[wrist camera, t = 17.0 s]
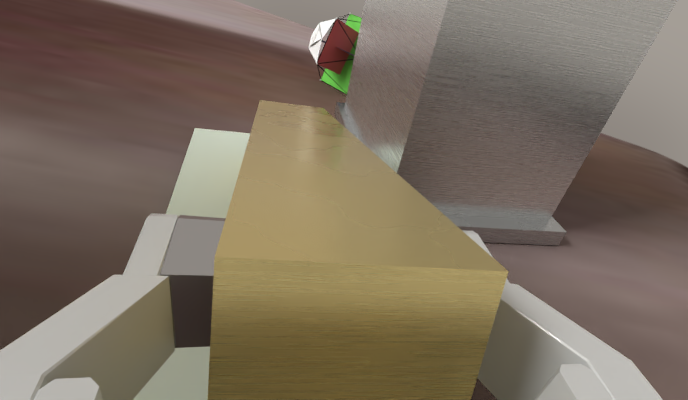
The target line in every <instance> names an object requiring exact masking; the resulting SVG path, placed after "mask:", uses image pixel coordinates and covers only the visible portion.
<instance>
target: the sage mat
mask: <svg viewBox="0 0 688 400" xmlns="http://www.w3.org/2000/svg"><path fill="white" fill-rule="evenodd" d="M249 137H250V134H249V133H239V132H229V131H219V130H209V129H199V128H195V130H194V133H193V136H192V139H191V142H190V144H189V147H188V150H187V153H186V156H185V159H184V162H183V165H182V168H181V171H180V174H179V177H178V180H177V183H176V186H175V189H174V191H173V194H172V197H171V200H170V203H169V206H168V209H167V212H166V214H171V215H179V216H180V215H188V216H201V217H215V218H226V216H227V212H228V209H229V205H230V202H231V199H232V195H233V192H234V188H235V185H236V181H237V178H238V174H239V171H240V168H241V164H242V161H243V157H244V154H245V150H246V147H247V143H248V140H249ZM209 359H210V347H187V348H175V351H174V352H173V354H172V355H171V356H170V357H169V358H168V359H167V361H166V362H165V363H164V364H163V365H162V366H161V368H160V369H159V370H158V371H157V372H156V373H155V375H154V376H153V377H152V378H151V379H150V380H149V381H148V383H147V384H146V385H145V386H144V387H143V388H142V390H141V391H140V392H139V393H138V394H137V395H136V397H135V398H134V399H133V400H207V399H208V379H209Z"/></svg>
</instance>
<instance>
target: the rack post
mask: <svg viewBox="0 0 688 400" xmlns="http://www.w3.org/2000/svg"><path fill="white" fill-rule="evenodd" d="M677 1H678V0H365V4H364V9H363V14H362V19H361V25H360V30H359V35H358V40H357V45H356V50H355V55H354V61H353V66H352V71H351V76H350V81H349V86H348V92H347V97H346V102H345V103H340V102H337V103H336V108H335V116H336V119H337V121H338V122H339V123H340V124H342V125H343V126H344V127H345V128H346V129H347V130H348V131H350V132H351V133H352V134H353V135H354V136H355V137H356V138H358V139H359V140H360V141H361V142H362V143H363V144H364V145H365V146H367V147H368V148H369V149H370V150H371V151H372V152H373V153H375V154H376V155H377V156H378V157H379V158H380V159H381V160H383V161H384V162H385V163H386V164H387V165H388V166H389V167H390V168H392V169H393V170H394V171H395V172H396V173H397V174H398V175H400V176H401V177H402V178H403V179H404V180H405V181H406V182H407V183H409V184H410V185H411V186H412V187H413V188H414V189H415V190H417V191H418V192H419V193H420V194H421V195H422V196H423V197H425V198H426V199H427V200H428V201H429V202H430V203H431V204H432V205H434V206H435V207H436V208H437V209H438V210H439V211H440V212H442V213H443V214H444V215H445V216H446V217H447V218H448V219H450V220H451V221H452V222H453V223H454V224H455V225H456V226H457V227H459V228H460V229H461V230H467V231H474V232H475V233H477V234H478V235H479V237H480V238H481V240H482V241H483V242H489V243H511V244H534V245H556V246H558V245H559V244H560V242H561V240H562V239H563V237H564V236H565V234H566V233H567V232H566V231H565V230H564V229H563V228H562V227H561V226H560V224H559V223H558V222H557V221H556V220H555V219H554V218H553V217H552V215H553V213H554V212H555V210H556V208H557V206H558V205H559V203H560V201H561V200H562V198H563V196H564V194H565V193H566V191H567V189H568V188H569V186H570V184H571V182H572V181H573V179H574V177H575V176H576V174H577V172H578V170H579V169H580V167H581V165H582V164H583V162H584V160H585V158H586V157H587V155H588V153H589V152H590V150H591V148H592V146H593V145H594V143H595V141H596V140H597V138H598V136H599V134H600V133H601V131H602V129H603V127H604V126H605V124H606V122H607V121H608V119H609V117H610V116H611V114H612V112H613V110H614V109H615V107H616V105H617V103H618V102H619V100H620V98H621V97H622V95H623V93H624V91H625V90H626V88H627V86H628V85H629V83H630V81H631V79H632V78H633V76H634V74H635V73H636V71H637V69H638V68H639V66H640V64H641V62H642V61H643V59H644V57H645V55H646V54H647V52H648V50H649V49H650V47H651V45H652V44H653V42H654V40H655V38H656V37H657V35H658V33H659V31H660V30H661V28H662V26H663V25H664V23H665V21H666V20H667V18H668V16H669V14H670V13H671V11H672V9H673V8H674V6H675V4H676V2H677Z"/></svg>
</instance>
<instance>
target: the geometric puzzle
mask: <svg viewBox="0 0 688 400" xmlns="http://www.w3.org/2000/svg"><path fill="white" fill-rule="evenodd" d="M361 19H362V18H360V17H358V16H355V15H352V14H351V13H350V15H349V17H348V19H347V22H346V24H345V23H343V22H342V21H340V20H341V19H340V20H339V18H335V19H331V20H327V21H323V22H319V24H318V25H317V27H316V29H315V30H314V32H313V33H312V36H311V40H310V44H309V48H308V49H309V51H310V52H311V54H312V56H313V58H314V60H315V61H316V64H317V67H318V66H319V65H321V66H323V67H325V68H326V69H325V71H324V70H323V69H322V68H321V67H320V66H319V67H320V68H321V69H322V70H323V71H324V73H323V76H322V78H320V80H322V81H324V82H325V83H327V84H329V85H331V86H333V87H334V88H336V89H338V90H340V91H342V92H344V93H345V94H347V92H348V86H349V81H350V76H351V71H352V66H353V61H354V55H355V50H356V45H357V40H358V35H359V30H360V25H361ZM343 20H344V19H343ZM334 21H335V22H334ZM332 24H333V27H332V29H331V32H330V34H329V36H328V38H327V41H326V42H325V41H323V40H322V38H323V37H324V35H325V34H326V33H327V31H328V30H329V28H330V27H331V25H332ZM321 42H324V43H325V45H324V47H323V50H322V52H321V54H320V57H319V59H318V55H319V51H320V46H321ZM317 60H318V61H317ZM319 67H318V68H319ZM318 71H319V70H318ZM319 75H320V72H319Z"/></svg>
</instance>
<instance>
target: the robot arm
mask: <svg viewBox="0 0 688 400" xmlns="http://www.w3.org/2000/svg"><path fill="white" fill-rule="evenodd" d="M225 219H226V218H215V217H201V216H188V215H180V216H179V215H171V214H155V213H151V214H150V215H149V216H148V217H147V218H146V220H145V223H144V225H143V228H142V230H141V232H140V235H139V237H138V240H137V242H136V244H135V247H134V249H133V252H132V254H131V256H130V259H129V261H128V264H127V266H126V268H125V271H124V273H123V275H112V276H111V277H109V278H108V279H106V280H105V281H103V282H102V283H100V284H99V285H97V286H96V287H94V288H93V289H91V290H90V291H88V292H87V293H85V294H84V295H82V296H81V297H79V298H78V299H76V300H75V301H73V302H72V303H70V304H69V305H67V306H66V307H64V308H63V309H61V310H60V311H58V312H57V313H55V314H54V315H52V316H51V317H49V318H48V319H46V320H45V321H43V322H42V323H40V324H39V325H37V326H36V327H34V328H33V329H31V330H30V331H28V332H27V333H25V334H24V335H22V336H21V337H19V338H18V339H16V340H15V341H13V342H12V343H10V344H9V345H7V346H6V347H4V348H3V349H1V350H0V400H133V399H134V398H135V397H136V395H137V394H138V393H139V392H140V391H141V390H142V388H143V387H144V386H145V385H146V384H147V383H148V381H149V380H150V379H151V378H152V377H153V376H154V375H155V373H156V372H157V371H158V370H159V369H160V368H161V366H162V365H163V364H164V363H165V362H166V361H167V359H168V358H169V357H170V356H171V355H172V354H173V352H174V351H175V348H187V347H210V339H211V319H212V299H213V279H214V259H215V254H216V250H217V247H218V243H219V240H220V237H221V233H222V230H223V226H224V223H225ZM462 231H463V232H464V233H465V234H467V235H468V236H469V237H470V238H471V239H472V240H473V241H474V242H476V243H477V244H478V245H479V246H480V247H481V248H482V249H484V250H485V251H486V252H487V253H488V254H489V255H490V256H492V255H491V253H490V252H489V250H488V249H487V247H486V246H485V244H484V243H483V241H482V240H481V238H480V237H479V235H478V234H477V233H475V232H474V231H467V230H462ZM477 378H478V379H479V380H480V382H481V383H482V384H483V385H484V386H485V387H486V388H487V389H488V390H489V391H490V392H491V393H492V394H493V395H494V396H495V398H496V399H497V400H663V399H662V398H661V397H660V396H659V394H658V393H657V392H656V391H655V389H654V388H653V387H652V386H651V384H650V383H649V382H648V381H647V379H646V378H645V377H644V376H643V374H642V373H641V372H640V371H639V369H638V368H637V367H636V366H635V365H634V363H633V362H632V361H631V360H629V359H628V358H626V357H625V356H623V355H622V354H621V353H619V352H618V351H616V350H615V349H613V348H612V347H610V346H609V345H607V344H606V343H604V342H603V341H601V340H600V339H598V338H597V337H595V336H594V335H592V334H591V333H589V332H588V331H586V330H585V329H583V328H582V327H580V326H579V325H577V324H576V323H574V322H573V321H571V320H570V319H568V318H567V317H565V316H564V315H562V314H561V313H559V312H558V311H556V310H555V309H553V308H552V307H550V306H549V305H547V304H546V303H544V302H543V301H541V300H540V299H538V298H537V297H536V296H534V295H533V294H531V293H530V292H528V291H527V290H525V289H524V288H522V287H521V286H519V285H518V284H510V283H509V281H508V280H507V279H506V282H505V285H504V289H503V292H502V295H501V299H500V302H499V306H498V309H497V312H496V316H495V319H494V323H493V326H492V329H491V333H490V336H489V340H488V343H487V346H486V350H485V353H484V357H483V360H482V363H481V367H480V370H479V373H478V377H477Z"/></svg>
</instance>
